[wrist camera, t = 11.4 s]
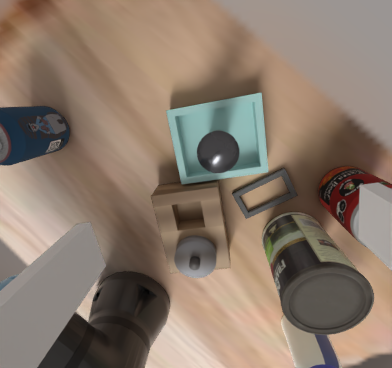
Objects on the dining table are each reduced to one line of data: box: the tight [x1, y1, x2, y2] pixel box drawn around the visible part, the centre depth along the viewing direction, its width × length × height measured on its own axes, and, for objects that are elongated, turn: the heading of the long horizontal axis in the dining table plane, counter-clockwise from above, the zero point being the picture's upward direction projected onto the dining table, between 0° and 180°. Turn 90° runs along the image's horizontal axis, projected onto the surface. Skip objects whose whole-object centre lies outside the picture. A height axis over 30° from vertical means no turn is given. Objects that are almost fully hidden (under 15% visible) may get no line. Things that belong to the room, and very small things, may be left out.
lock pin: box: [197, 130, 240, 173], centre depth 30 cm, size 4×4×12 cm
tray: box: [166, 93, 268, 184], centre depth 35 cm, size 13×11×3 cm
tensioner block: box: [151, 179, 231, 278], centre depth 38 cm, size 14×10×8 cm
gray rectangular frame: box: [232, 168, 297, 219], centre depth 39 cm, size 9×5×1 cm, turn 120°
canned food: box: [318, 167, 392, 248], centre depth 33 cm, size 8×8×11 cm
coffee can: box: [262, 212, 374, 335], centre depth 35 cm, size 10×10×14 cm
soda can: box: [0, 106, 70, 165], centre depth 33 cm, size 7×7×12 cm
